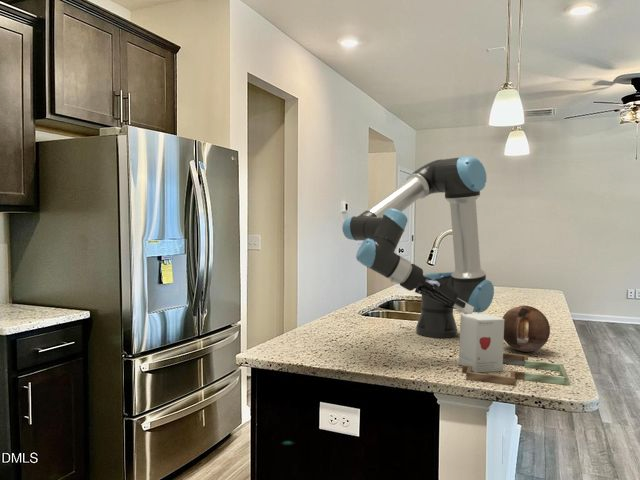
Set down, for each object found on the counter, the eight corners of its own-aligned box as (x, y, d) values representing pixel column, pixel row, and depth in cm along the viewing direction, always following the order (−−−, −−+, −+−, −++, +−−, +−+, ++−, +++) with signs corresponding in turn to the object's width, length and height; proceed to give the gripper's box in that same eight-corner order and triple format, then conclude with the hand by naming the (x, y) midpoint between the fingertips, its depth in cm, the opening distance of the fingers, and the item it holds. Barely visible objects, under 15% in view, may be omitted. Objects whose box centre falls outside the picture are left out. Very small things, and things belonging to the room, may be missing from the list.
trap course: (460, 378, 130) (460, 371, 130) (467, 354, 154) (467, 349, 154) (571, 392, 121) (571, 385, 121) (560, 365, 145) (560, 359, 145)
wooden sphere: (513, 343, 171) (514, 300, 171) (557, 352, 160) (558, 306, 159) (491, 350, 161) (492, 304, 161) (536, 360, 150) (537, 311, 149)
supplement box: (475, 373, 135) (477, 319, 134) (457, 364, 144) (459, 313, 143) (503, 371, 137) (505, 318, 137) (484, 362, 146) (486, 312, 146)
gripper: (391, 288, 149) (455, 324, 152) (410, 281, 137) (479, 321, 140) (400, 266, 151) (463, 302, 154) (420, 258, 139) (488, 297, 142)
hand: (471, 311), depth 147 cm, fingers closed
